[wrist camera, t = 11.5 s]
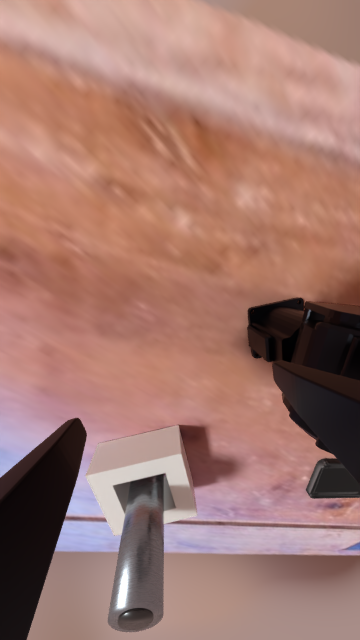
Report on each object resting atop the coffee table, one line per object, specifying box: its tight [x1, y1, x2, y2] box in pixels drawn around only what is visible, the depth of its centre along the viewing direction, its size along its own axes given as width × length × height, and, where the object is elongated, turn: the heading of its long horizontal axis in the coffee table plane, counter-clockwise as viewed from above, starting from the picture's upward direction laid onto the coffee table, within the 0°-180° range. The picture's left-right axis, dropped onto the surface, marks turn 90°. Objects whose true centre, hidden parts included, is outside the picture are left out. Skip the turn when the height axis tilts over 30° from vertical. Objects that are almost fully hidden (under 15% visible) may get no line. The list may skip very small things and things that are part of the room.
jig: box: [86, 425, 197, 536], centre depth 24 cm, size 11×11×4 cm
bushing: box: [108, 473, 164, 632], centre depth 20 cm, size 4×4×12 cm
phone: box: [306, 458, 360, 499], centre depth 30 cm, size 8×1×15 cm
